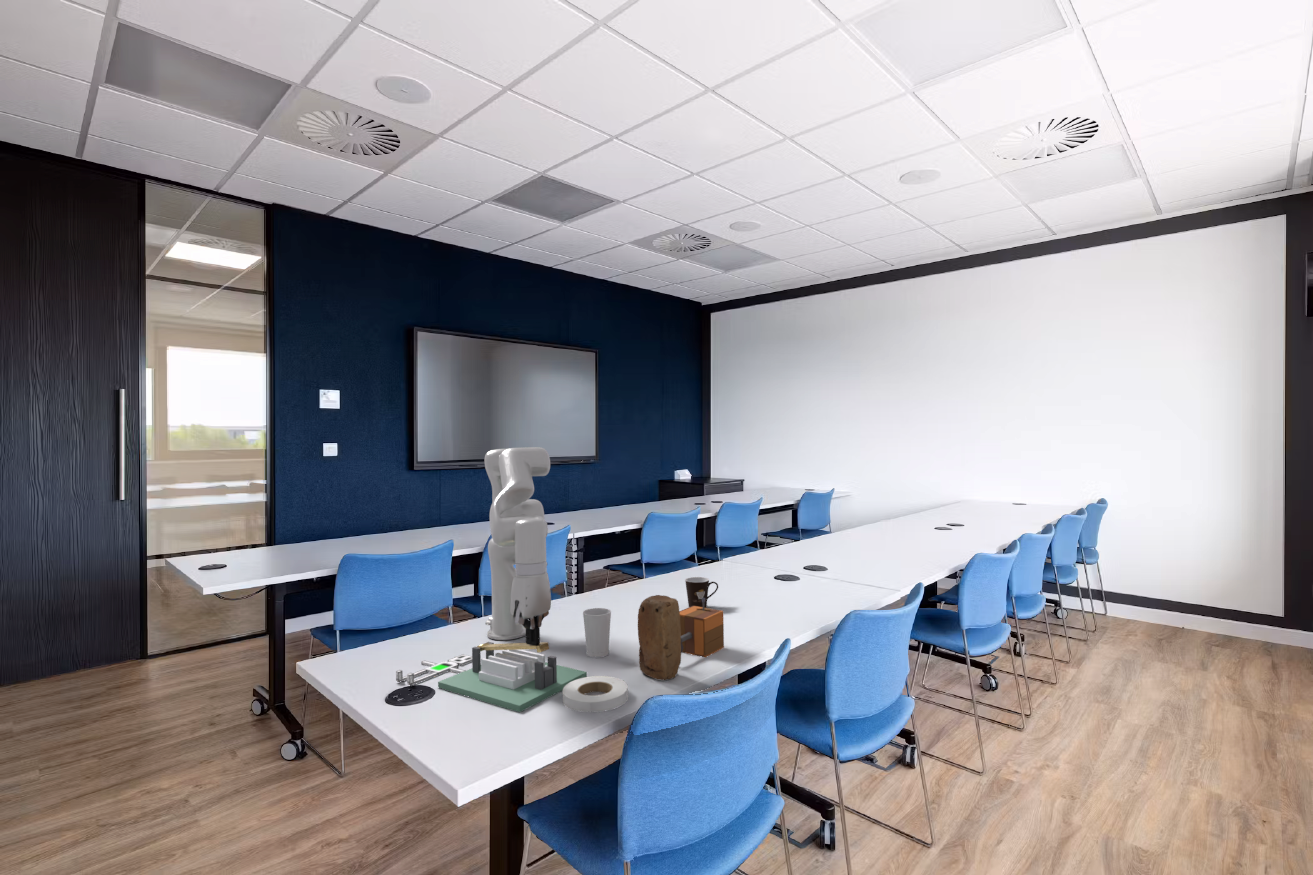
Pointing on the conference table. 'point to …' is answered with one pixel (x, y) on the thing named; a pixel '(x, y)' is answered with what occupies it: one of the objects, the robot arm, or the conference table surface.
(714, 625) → the clamp
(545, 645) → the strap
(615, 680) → the roll of tape
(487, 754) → the conference table surface
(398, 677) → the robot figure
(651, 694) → the conference table surface
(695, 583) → the coffee mug
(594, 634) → the cup
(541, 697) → the motherboard
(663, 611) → the block
